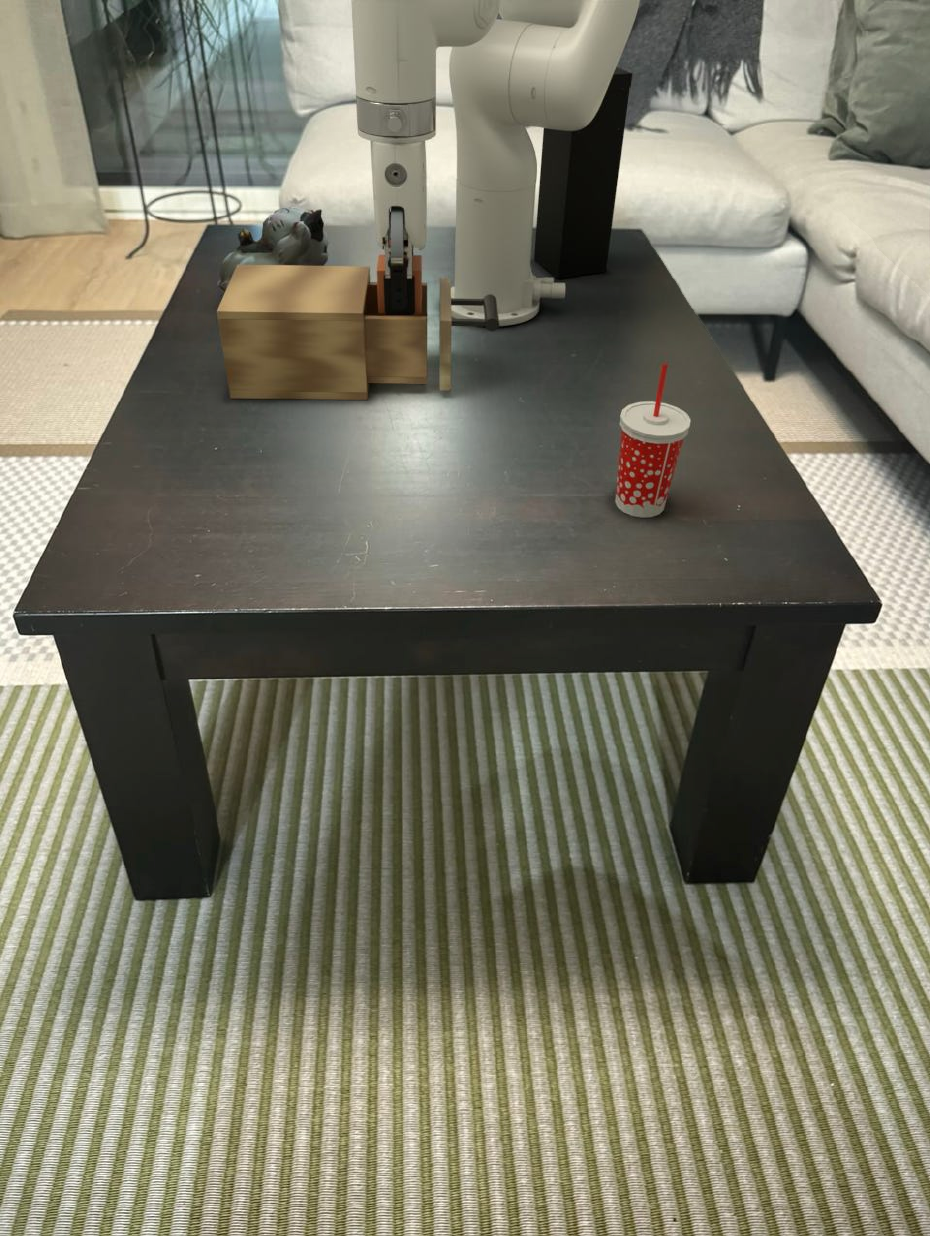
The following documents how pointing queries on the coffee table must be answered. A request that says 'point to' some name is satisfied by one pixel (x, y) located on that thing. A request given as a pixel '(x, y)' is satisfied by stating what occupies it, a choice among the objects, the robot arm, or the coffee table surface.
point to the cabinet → (295, 332)
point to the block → (415, 272)
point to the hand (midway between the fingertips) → (400, 302)
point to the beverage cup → (649, 453)
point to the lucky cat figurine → (281, 243)
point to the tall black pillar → (581, 188)
